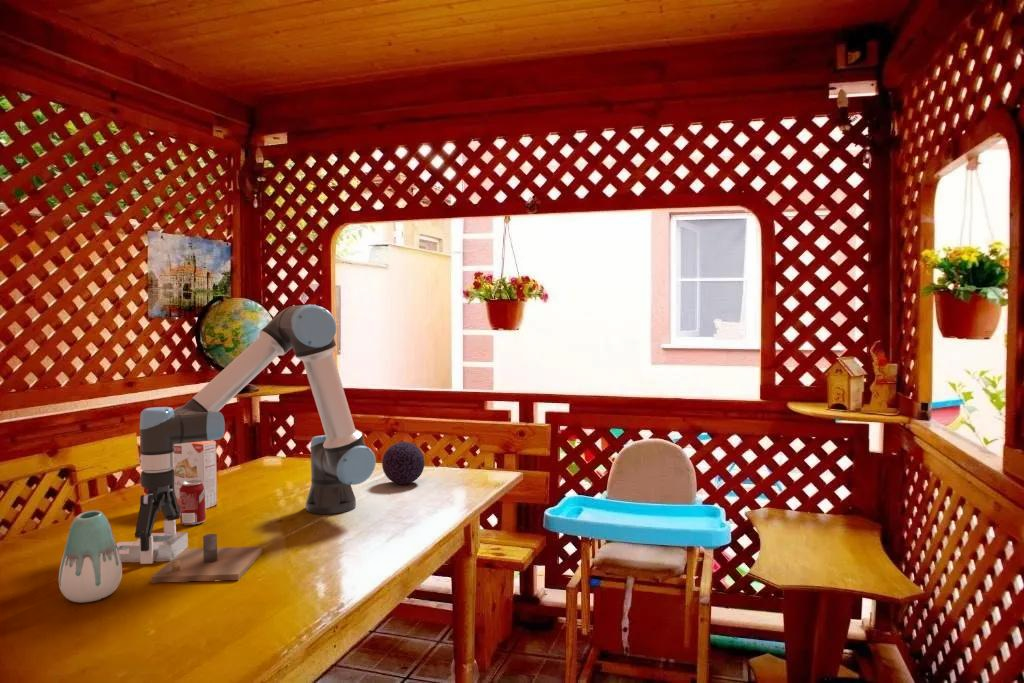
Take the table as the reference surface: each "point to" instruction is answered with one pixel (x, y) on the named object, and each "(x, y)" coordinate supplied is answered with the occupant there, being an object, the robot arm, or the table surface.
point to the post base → (208, 563)
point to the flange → (155, 547)
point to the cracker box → (196, 468)
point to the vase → (90, 559)
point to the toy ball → (403, 463)
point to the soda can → (192, 502)
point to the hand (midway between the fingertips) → (158, 554)
